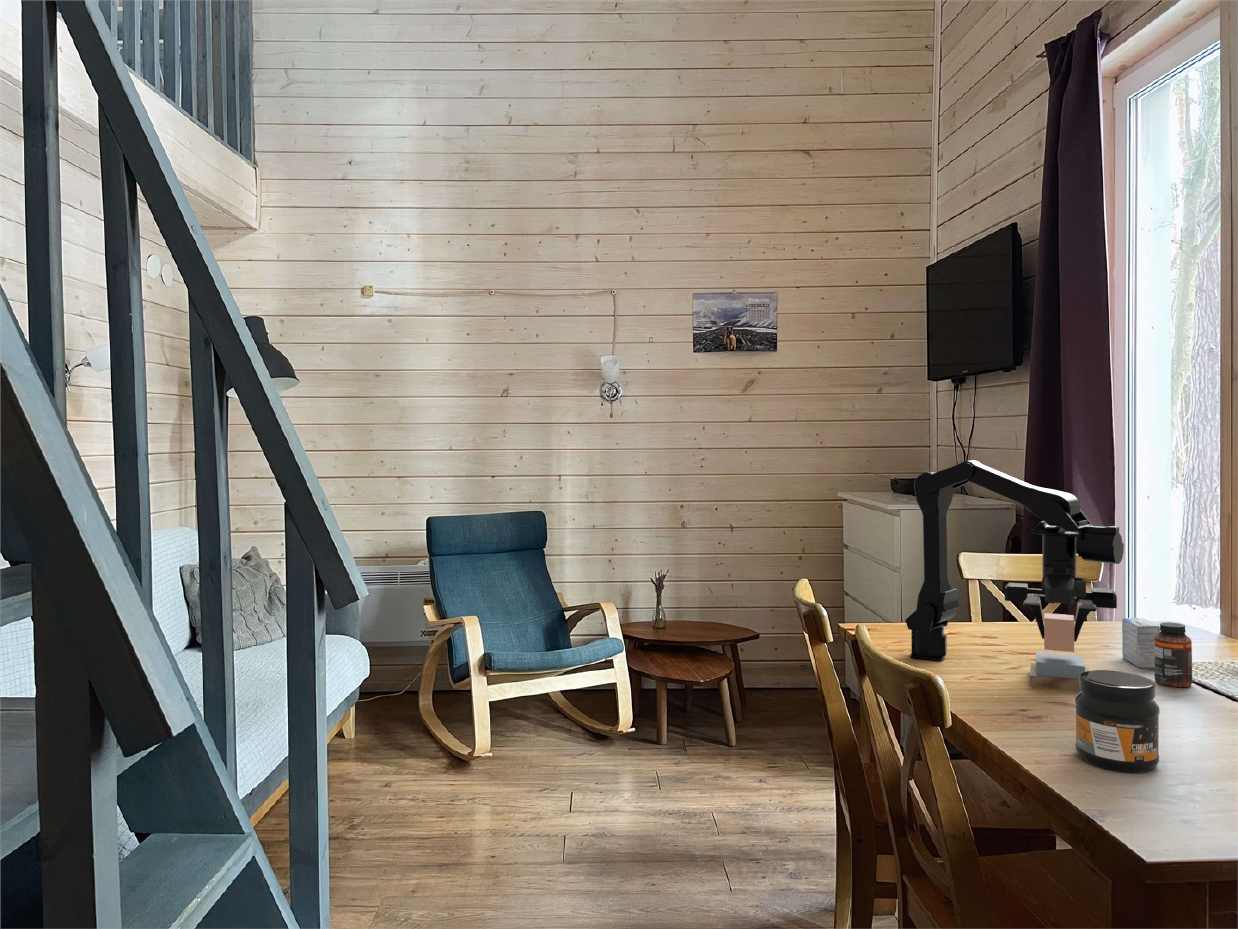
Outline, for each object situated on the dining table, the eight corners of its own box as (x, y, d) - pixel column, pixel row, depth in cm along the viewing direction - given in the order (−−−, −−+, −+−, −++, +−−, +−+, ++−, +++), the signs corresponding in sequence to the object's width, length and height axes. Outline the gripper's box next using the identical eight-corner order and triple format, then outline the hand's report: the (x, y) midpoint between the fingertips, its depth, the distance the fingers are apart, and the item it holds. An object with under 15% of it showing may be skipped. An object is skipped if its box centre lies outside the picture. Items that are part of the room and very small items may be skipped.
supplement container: (1101, 776, 115) (1101, 690, 115) (1060, 747, 126) (1060, 669, 126) (1176, 774, 116) (1177, 689, 115) (1130, 746, 126) (1130, 668, 126)
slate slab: (1036, 675, 157) (1036, 662, 157) (1036, 664, 165) (1036, 651, 164) (1085, 679, 154) (1085, 666, 154) (1082, 668, 161) (1082, 656, 161)
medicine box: (1161, 669, 167) (1161, 626, 167) (1136, 668, 168) (1137, 625, 167) (1144, 658, 175) (1145, 617, 174) (1121, 658, 175) (1121, 617, 175)
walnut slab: (1029, 688, 157) (1029, 675, 157) (1031, 675, 166) (1031, 662, 166) (1090, 695, 153) (1090, 681, 153) (1088, 681, 161) (1088, 668, 161)
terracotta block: (1044, 649, 158) (1044, 618, 158) (1044, 643, 163) (1044, 613, 162) (1074, 652, 156) (1074, 620, 156) (1073, 646, 160) (1073, 615, 160)
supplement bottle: (1186, 680, 159) (1186, 621, 158) (1196, 689, 153) (1197, 628, 153) (1150, 678, 161) (1150, 620, 160) (1159, 687, 155) (1159, 626, 155)
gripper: (1003, 561, 156) (1003, 644, 156) (1119, 567, 147) (1118, 655, 148) (1006, 554, 166) (1006, 631, 166) (1114, 559, 157) (1114, 641, 158)
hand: (1059, 639), depth 159 cm, fingers closed on terracotta block, 5 cm apart
